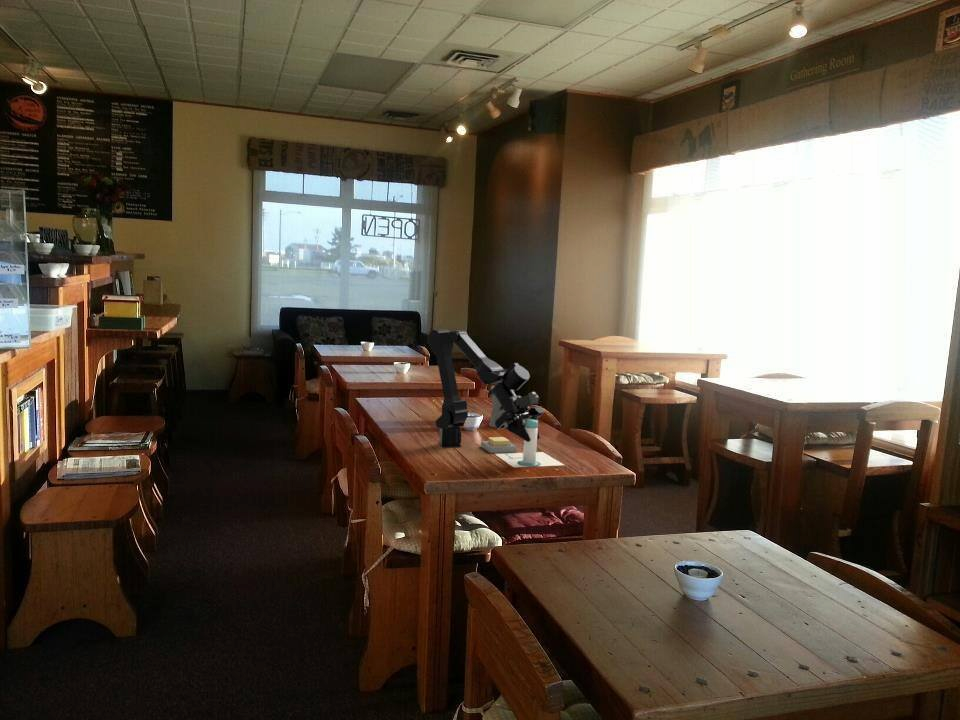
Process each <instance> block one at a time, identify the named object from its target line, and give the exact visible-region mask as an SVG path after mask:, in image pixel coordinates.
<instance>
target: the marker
mask: <svg viewBox="0 0 960 720" xmlns="http://www.w3.org/2000/svg"><path fill="white" fill-rule="evenodd" d="M538 427H539V420H538V419H537V420H533V419H527V420H525V430H526V431H527V433H528V435H529V437H530V439H531V440H530V441H529V442H527V441H526V440H524V439H523V446H522V447H523V448H522V450H523V451H522V453H523V462H524V463H528V464H534V463H536V452H537V447H538V446H537V443H538V440H537V431H538V432H539V429H538Z"/></svg>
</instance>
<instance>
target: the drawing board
mask: <svg viewBox="0 0 960 720" xmlns="http://www.w3.org/2000/svg"><path fill="white" fill-rule="evenodd" d="M494 455H495V456H497V457H498V458H499V459H501V460H503V461H504V462H505V463H507V464H508V465H510V466H511V467H513V468H530V467H531V468H533V467H554V466H555V467H557V466H565V464H564V463H562V462H560V461H559V460H557V459H556V458H553V457H552V456H551V455H548V454H547V453H545V452H543V451H536V463H534V464H528V463H524V462H523V452H512V453H494Z"/></svg>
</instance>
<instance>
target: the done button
mask: <svg viewBox="0 0 960 720" xmlns="http://www.w3.org/2000/svg"><path fill="white" fill-rule="evenodd" d="M487 441H488V443H489V444H491V445H492V446H509V444H510V443H511V441H510V440H509V439H508V438H506V437H504V436H494V437H493V436H490V437H488V440H487Z"/></svg>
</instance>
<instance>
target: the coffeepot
mask: <svg viewBox="0 0 960 720" xmlns="http://www.w3.org/2000/svg"><path fill="white" fill-rule="evenodd" d="M494 386H495V385H491V387H494ZM513 391H514V393H515V391H516V390H513ZM515 394H516V393H515ZM491 405H492V409H491V415H490V420H489V424H488V426H489V427H491V428H495V429H497V428H496V426H495V420H496V419H497V418H498V417H499V416H500V415H501V414H502V413H503V412H505V411H504V410H500V407H501V405H500V403H499V402H498V400H497V398H496V397H495V396H491ZM507 427H508V425H507V423H505V424H504V428H503V429H506V428H507Z"/></svg>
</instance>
